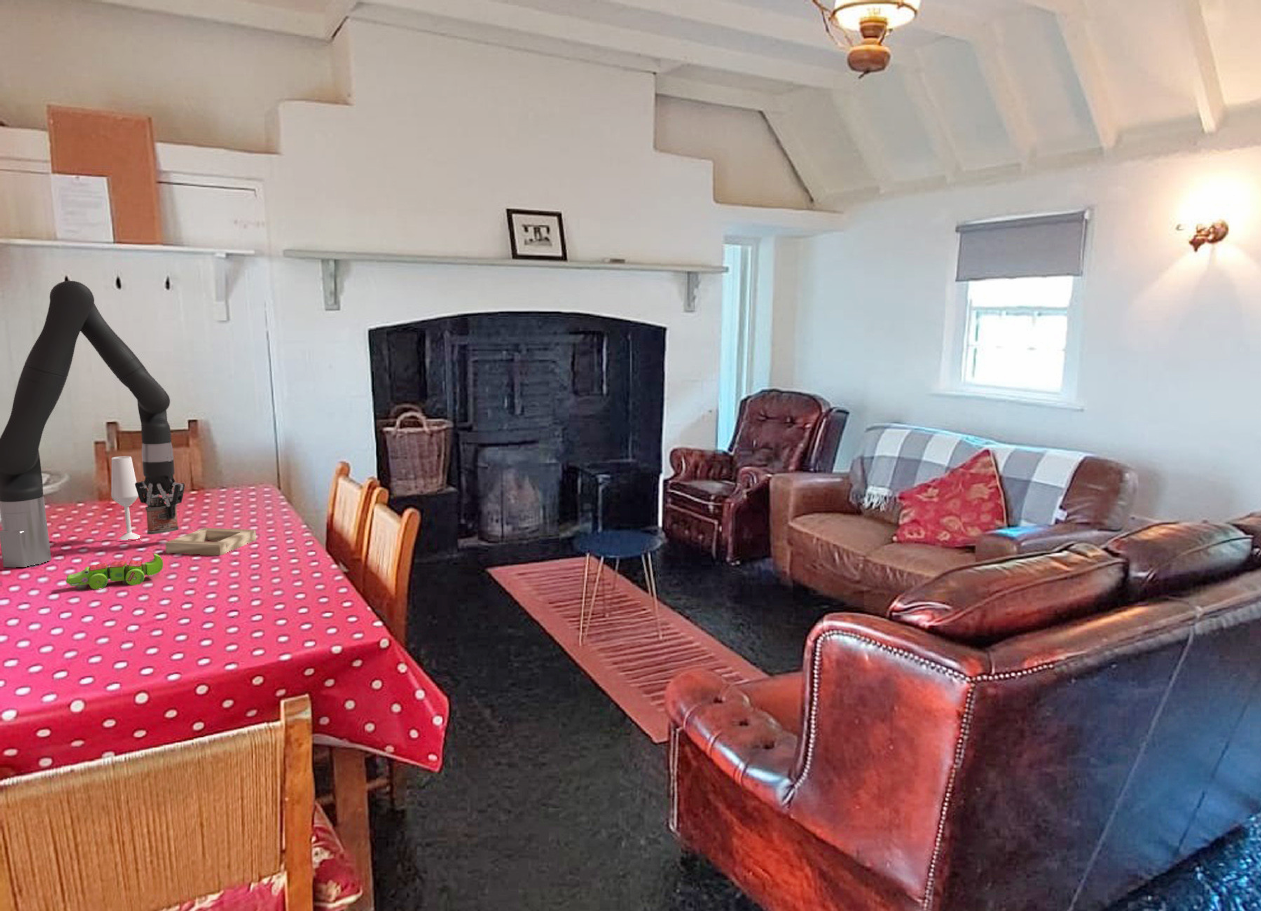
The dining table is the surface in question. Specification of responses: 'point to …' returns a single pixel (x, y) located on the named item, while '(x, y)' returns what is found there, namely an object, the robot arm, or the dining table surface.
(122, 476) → the champagne flute
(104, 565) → the toy crocodile
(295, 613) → the dining table surface
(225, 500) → the dining table surface
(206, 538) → the square beige frame
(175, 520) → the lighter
